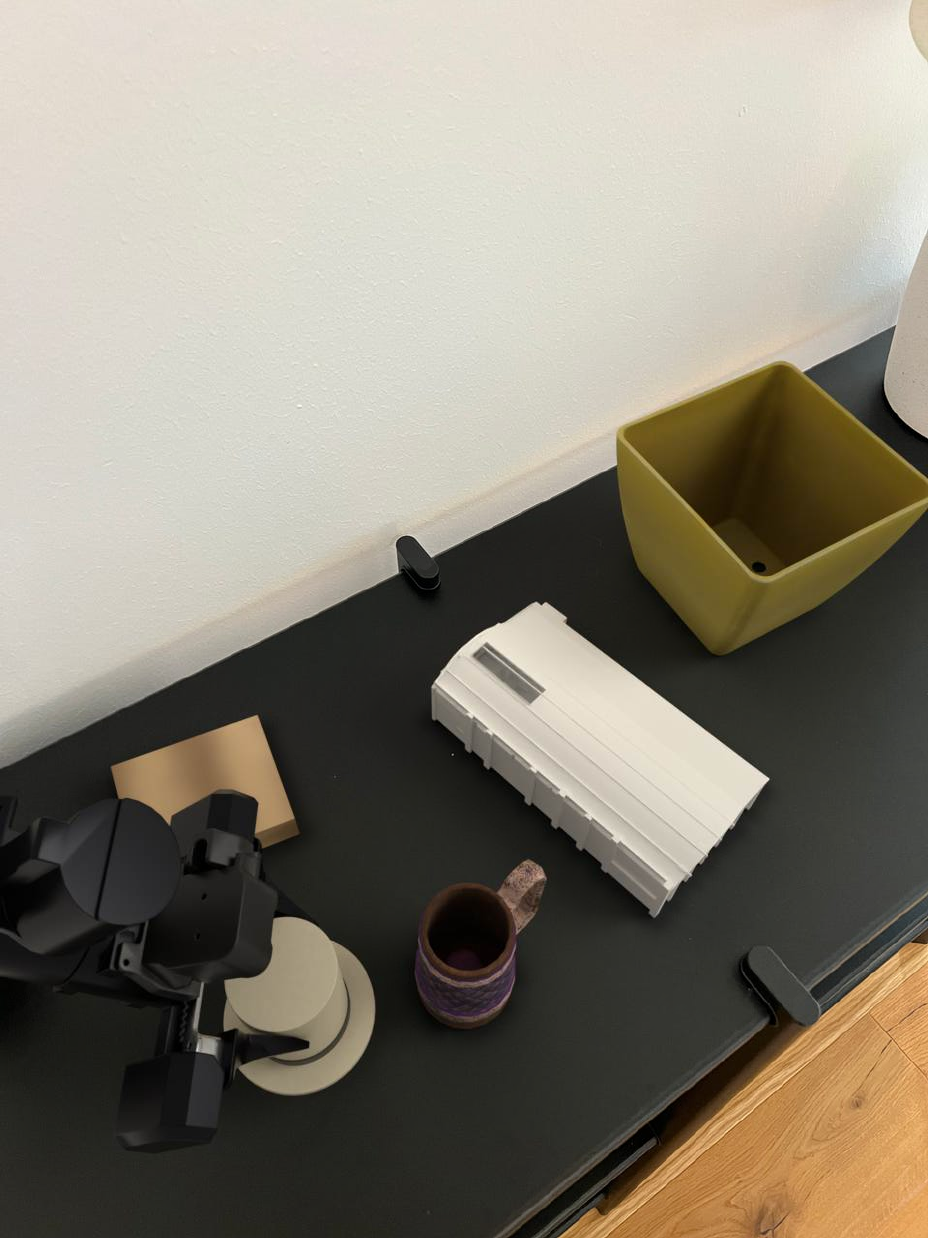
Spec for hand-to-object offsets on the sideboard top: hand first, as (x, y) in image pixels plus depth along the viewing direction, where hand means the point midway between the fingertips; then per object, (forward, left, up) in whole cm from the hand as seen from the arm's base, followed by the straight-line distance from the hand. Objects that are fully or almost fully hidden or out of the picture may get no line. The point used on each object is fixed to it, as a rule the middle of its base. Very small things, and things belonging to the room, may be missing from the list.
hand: (310, 986), depth 58 cm
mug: (+12, 0, -11) cm, 16 cm away
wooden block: (-3, +20, -10) cm, 22 cm away
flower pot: (+48, +23, -11) cm, 54 cm away
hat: (-1, +1, -7) cm, 7 cm away
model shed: (+28, +11, -11) cm, 32 cm away
